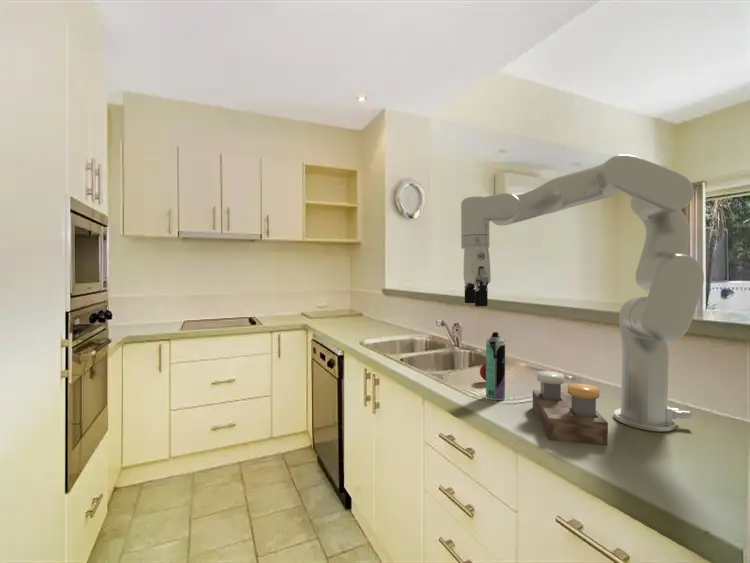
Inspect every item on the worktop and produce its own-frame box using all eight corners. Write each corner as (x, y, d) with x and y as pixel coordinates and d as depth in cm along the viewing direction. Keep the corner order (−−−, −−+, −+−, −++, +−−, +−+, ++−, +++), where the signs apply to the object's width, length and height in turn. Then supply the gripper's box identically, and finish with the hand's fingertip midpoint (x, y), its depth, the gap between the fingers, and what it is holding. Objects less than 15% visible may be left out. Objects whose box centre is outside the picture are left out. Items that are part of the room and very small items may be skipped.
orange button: (593, 411, 89) (593, 384, 89) (603, 422, 83) (603, 393, 82) (564, 409, 90) (564, 382, 90) (572, 420, 84) (572, 390, 84)
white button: (560, 396, 100) (560, 371, 99) (566, 404, 93) (567, 378, 93) (535, 394, 101) (535, 370, 101) (539, 402, 95) (539, 377, 95)
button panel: (579, 411, 100) (579, 393, 100) (607, 445, 81) (607, 422, 81) (532, 407, 103) (532, 390, 103) (548, 439, 84) (548, 418, 83)
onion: (497, 381, 128) (497, 358, 128) (497, 386, 122) (497, 362, 122) (479, 379, 130) (479, 357, 129) (479, 384, 124) (479, 361, 124)
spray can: (506, 401, 108) (506, 333, 107) (486, 400, 109) (487, 333, 108) (503, 395, 113) (503, 330, 113) (485, 394, 114) (485, 330, 114)
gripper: (500, 239, 93) (500, 307, 93) (478, 244, 110) (479, 301, 111) (471, 240, 93) (471, 308, 93) (453, 245, 110) (454, 302, 110)
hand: (475, 304), depth 102 cm, fingers open, 9 cm apart
